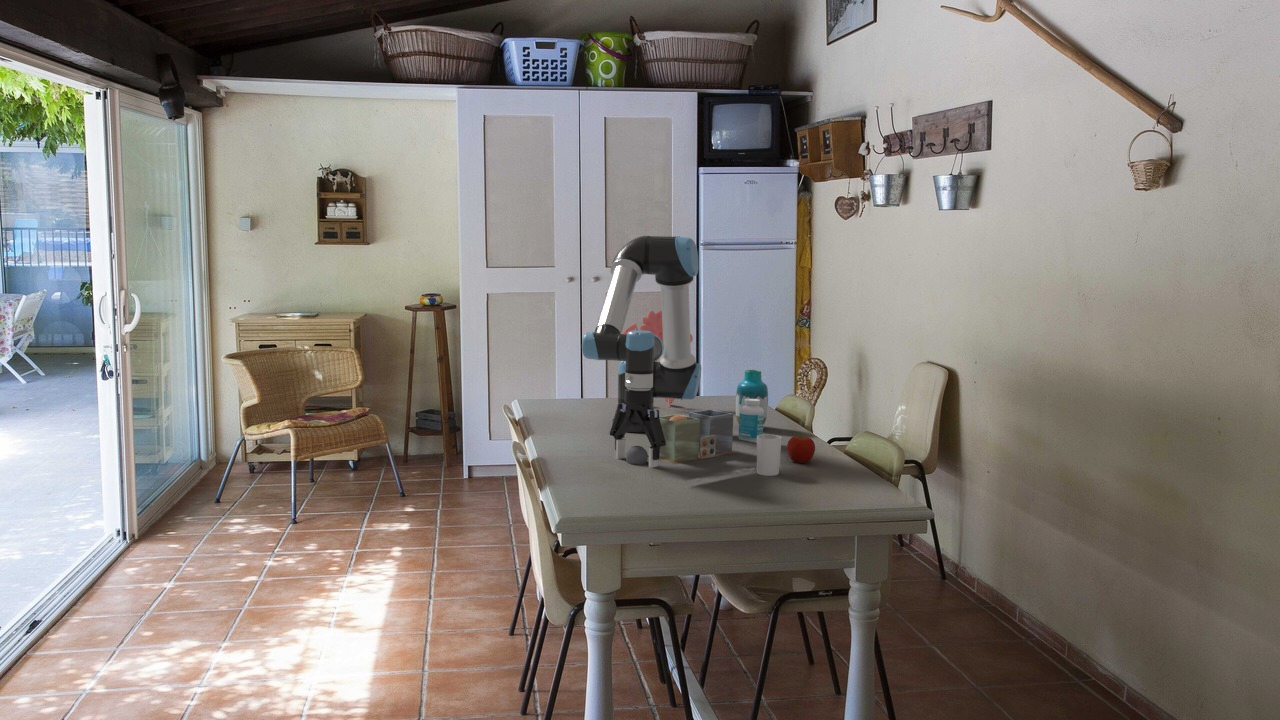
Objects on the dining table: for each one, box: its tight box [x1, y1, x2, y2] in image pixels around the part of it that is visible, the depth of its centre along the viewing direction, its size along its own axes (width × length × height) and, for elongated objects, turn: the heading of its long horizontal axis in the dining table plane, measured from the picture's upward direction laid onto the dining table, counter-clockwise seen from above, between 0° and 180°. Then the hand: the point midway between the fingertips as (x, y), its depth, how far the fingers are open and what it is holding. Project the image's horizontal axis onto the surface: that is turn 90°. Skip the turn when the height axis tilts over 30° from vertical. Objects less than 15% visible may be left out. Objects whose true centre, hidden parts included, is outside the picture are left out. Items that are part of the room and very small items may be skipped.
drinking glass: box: [756, 433, 783, 477], centre depth 274 cm, size 7×7×10 cm
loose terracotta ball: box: [670, 414, 687, 422], centre depth 283 cm, size 6×6×6 cm
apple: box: [786, 435, 816, 464], centre depth 288 cm, size 8×8×8 cm
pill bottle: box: [738, 399, 764, 444], centre depth 313 cm, size 8×7×14 cm
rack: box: [648, 408, 739, 465], centre depth 288 cm, size 12×26×12 cm, turn 134°
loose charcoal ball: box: [625, 445, 649, 466], centre depth 276 cm, size 6×6×6 cm
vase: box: [735, 369, 769, 426], centre depth 337 cm, size 11×11×19 cm
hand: (636, 467), depth 276 cm, fingers open, 12 cm apart
